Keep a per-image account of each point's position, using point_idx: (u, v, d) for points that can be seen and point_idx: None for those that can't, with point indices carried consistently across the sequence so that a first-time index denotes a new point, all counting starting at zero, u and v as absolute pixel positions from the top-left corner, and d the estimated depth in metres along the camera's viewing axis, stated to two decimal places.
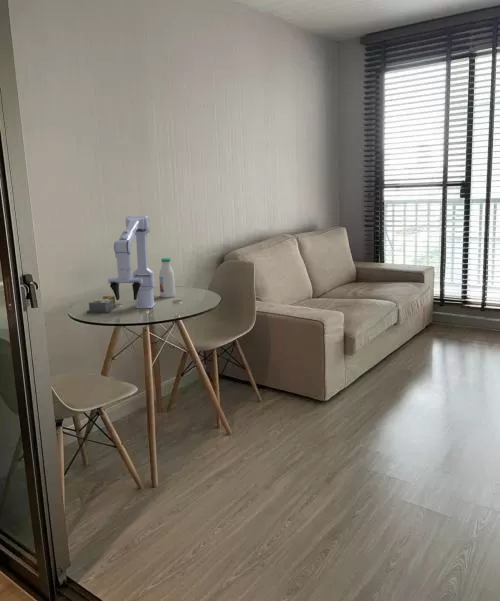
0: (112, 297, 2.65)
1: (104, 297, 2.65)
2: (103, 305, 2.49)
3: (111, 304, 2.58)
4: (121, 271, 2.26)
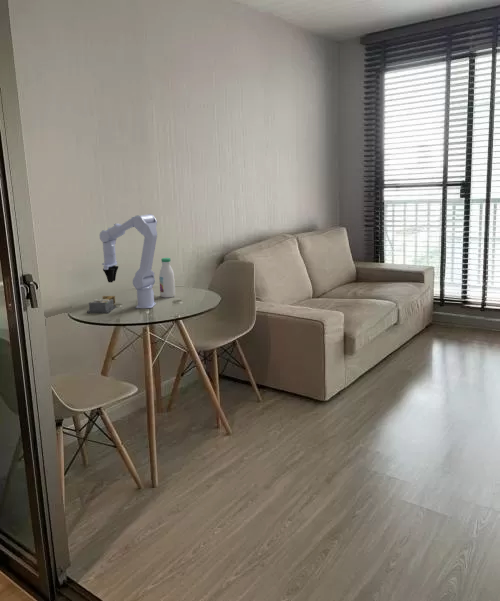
0: (112, 297, 2.65)
1: (104, 297, 2.65)
2: (103, 305, 2.49)
3: (111, 304, 2.58)
4: None
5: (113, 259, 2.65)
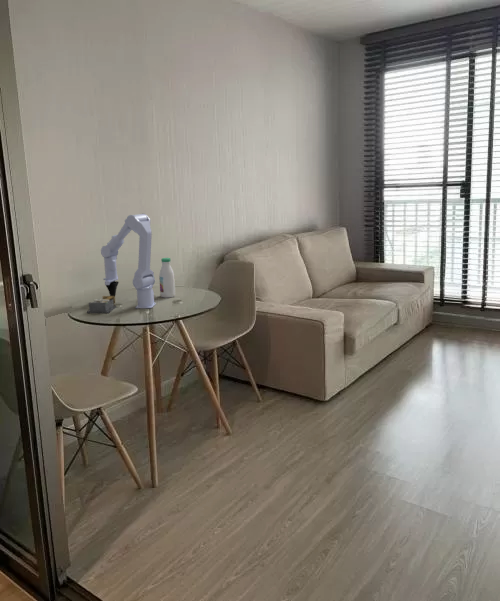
0: (112, 297, 2.65)
1: (104, 297, 2.65)
2: (103, 305, 2.49)
3: (111, 304, 2.58)
4: None
5: (114, 274, 2.67)
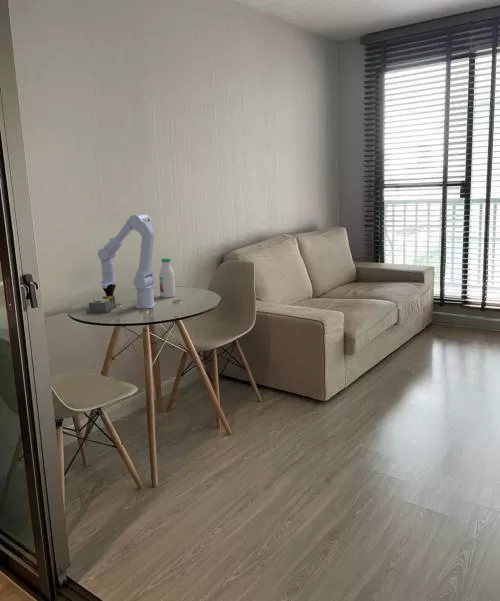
0: (112, 297, 2.64)
1: (104, 297, 2.65)
2: (103, 305, 2.49)
3: (111, 304, 2.58)
4: None
5: (111, 277, 2.63)
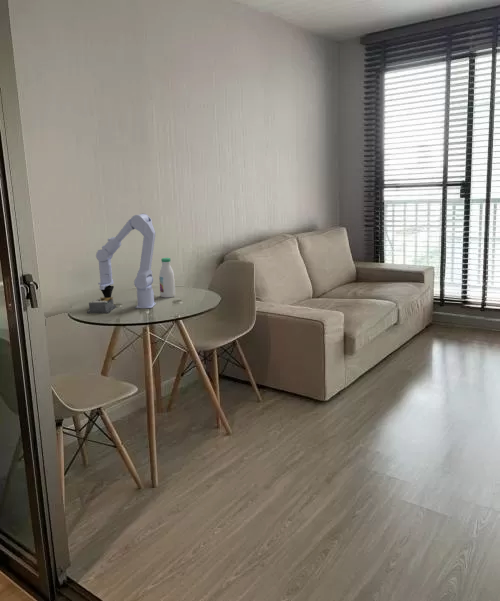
0: (110, 298, 2.62)
1: (102, 298, 2.62)
2: (103, 305, 2.49)
3: (111, 304, 2.58)
4: None
5: (109, 278, 2.60)
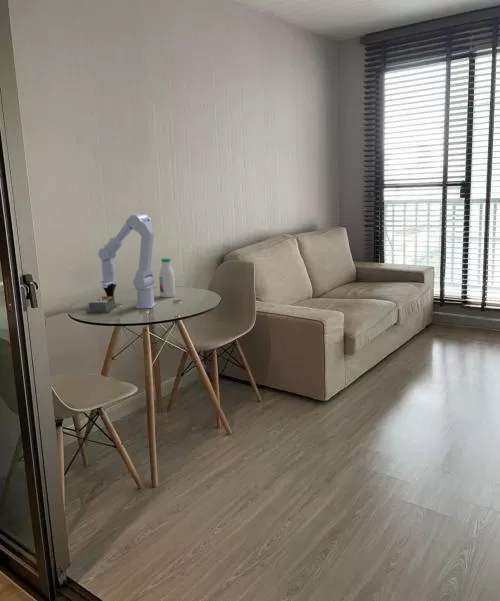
0: (111, 297, 2.64)
1: (103, 297, 2.64)
2: (103, 305, 2.49)
3: (111, 304, 2.58)
4: None
5: (112, 277, 2.63)
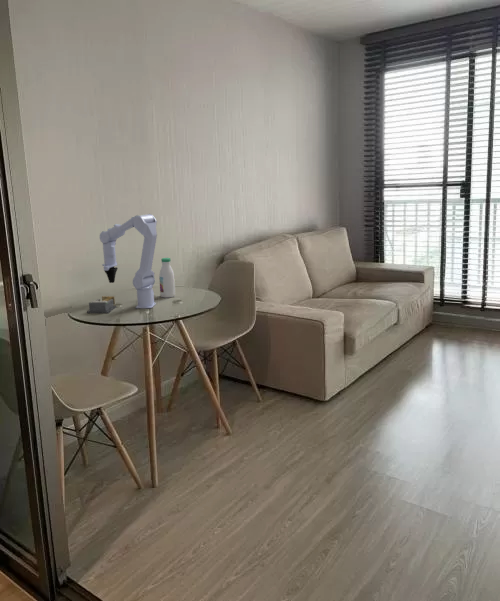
0: (111, 297, 2.64)
1: (103, 297, 2.64)
2: (103, 305, 2.49)
3: (111, 304, 2.58)
4: None
5: (113, 260, 2.65)
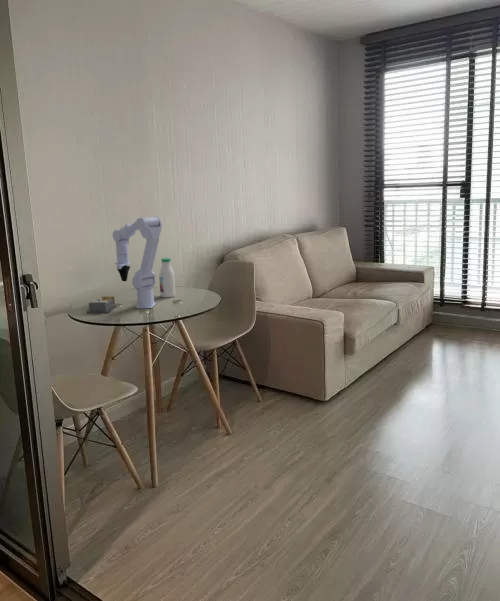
0: (111, 297, 2.64)
1: (103, 297, 2.64)
2: (103, 305, 2.49)
3: (111, 304, 2.58)
4: None
5: (126, 258, 2.66)
